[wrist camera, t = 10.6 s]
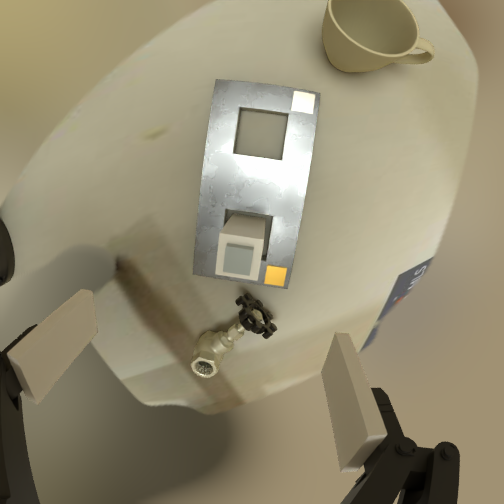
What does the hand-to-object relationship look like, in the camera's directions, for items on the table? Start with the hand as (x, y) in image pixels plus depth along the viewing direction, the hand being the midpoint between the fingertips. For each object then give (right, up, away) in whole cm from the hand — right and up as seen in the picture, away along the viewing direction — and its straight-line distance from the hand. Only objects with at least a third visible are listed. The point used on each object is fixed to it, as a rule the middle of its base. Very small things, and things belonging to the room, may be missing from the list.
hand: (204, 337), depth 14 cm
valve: (-1, -6, +26) cm, 27 cm away
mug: (+15, +29, +14) cm, 35 cm away
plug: (+2, +7, +22) cm, 23 cm away
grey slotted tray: (+3, +12, +20) cm, 23 cm away
